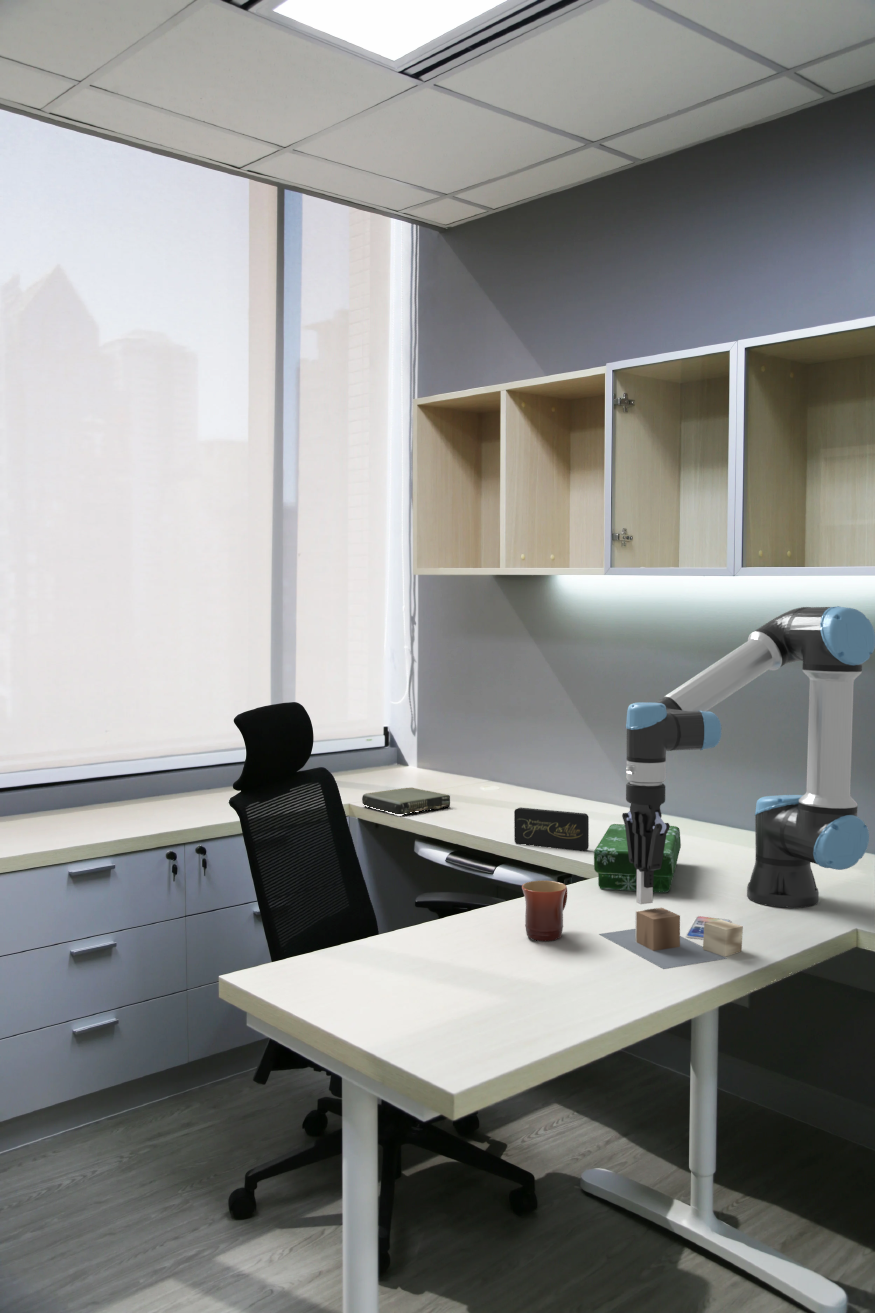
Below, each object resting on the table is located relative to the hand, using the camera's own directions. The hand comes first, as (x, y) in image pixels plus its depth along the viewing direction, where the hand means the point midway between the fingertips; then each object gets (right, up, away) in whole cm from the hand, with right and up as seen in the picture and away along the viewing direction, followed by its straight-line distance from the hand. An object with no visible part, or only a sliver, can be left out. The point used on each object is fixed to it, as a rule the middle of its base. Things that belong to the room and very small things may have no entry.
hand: (644, 902), depth 205 cm
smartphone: (+14, -8, +6) cm, 17 cm away
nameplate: (-9, -4, +81) cm, 81 cm away
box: (+9, -6, +49) cm, 50 cm away
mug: (-18, -8, +3) cm, 20 cm away
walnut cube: (+1, -4, -1) cm, 4 cm away
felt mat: (+2, -8, -4) cm, 9 cm away
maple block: (+13, -7, -7) cm, 17 cm away
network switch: (-51, -2, +138) cm, 147 cm away
